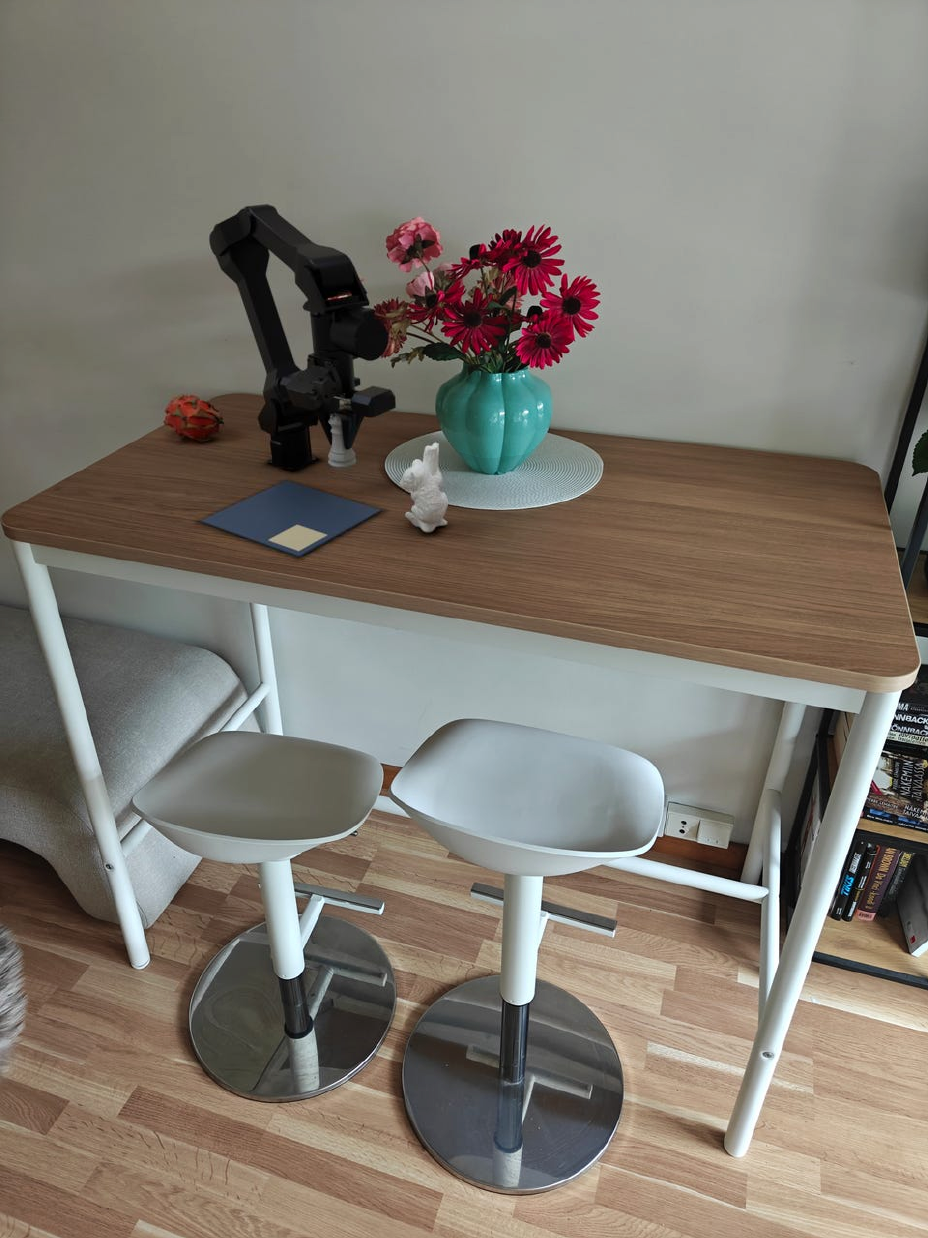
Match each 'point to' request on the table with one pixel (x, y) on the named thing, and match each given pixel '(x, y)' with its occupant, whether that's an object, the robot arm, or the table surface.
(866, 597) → the table surface
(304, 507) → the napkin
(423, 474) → the white bunny statuette
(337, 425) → the rook chess piece
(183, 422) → the dragon fruit
